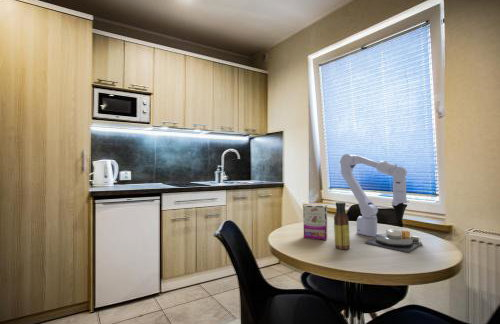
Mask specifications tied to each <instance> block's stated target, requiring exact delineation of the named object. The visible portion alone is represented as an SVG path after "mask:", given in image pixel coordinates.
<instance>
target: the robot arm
mask: <svg viewBox="0 0 500 324" xmlns="http://www.w3.org/2000/svg"><path fill="white" fill-rule="evenodd" d="M339 164H340V174H341V176H342V178H343V179H344V180H345V182H346V184H347V186H348V187H349V190H350V191H351V192H352V194H353V196H354V197H355V199H356V201H357V203H358V208H359V210H360V214H361V215H359V216H358V217H357V219H356V232H355V233H356V234H357V235H361V236H368V237H372V238H376V235H377V234H381V233H380V232H378V216H377V214H378V212H379V208H378V206H377V205H376V204H374V203H373V202H372V200H371V199H370V198H369V197H368V196H367V194H366V192H365V191H364V190H363V188H362V187H361V185H360V183H359V182H358V180H357V179H356V177H355V175H354V174H353V170H354V168H355V167H356V165H359V164H362V165H365V166H368V167H372V168H375V169H376V170H377V172H378V173H382V174H385V175H387V176H391V177H392V201H391V206H392V208H393V210H394V213H395V216H396V219H397V220H402V219H403V218H404V214H405V211H406V209H407V207H408V204H407V203H409V202H410V200H408V199H407V181H406V180H407V175H408V172H407V169H406V168H405V167H403V166H398V164H396V163H395V164H393V163H390V162H388V161H387V160H380V161H379V162H378V161H375V160H372V159H369V158H367V157H364V156H361V155H355V154H348V153H345V154H343V155H342V156H341V158H340V159H339Z"/></svg>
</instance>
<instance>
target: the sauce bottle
mask: <svg viewBox="0 0 500 324" xmlns="http://www.w3.org/2000/svg"><path fill="white" fill-rule="evenodd" d="M335 207H336V212H335V214H334V216H333V226H334V227H333V229H334V230H333V231H334V244H335V245H334V246H335V248H336V249H338V250H349V249H350V247H351V239H350V224H349V223H350V222H349V216H348V215H347V212H346V202H344V201H336V202H335Z"/></svg>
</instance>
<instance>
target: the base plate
mask: <svg viewBox="0 0 500 324" xmlns="http://www.w3.org/2000/svg"><path fill="white" fill-rule="evenodd" d="M410 238H411V239H412V240H413V244H412V245H411V246H391V245H386V244H382V243H379V242H377V241H376V237H372V238H370V239H368V240H367V241H365V244H367V245H370V246H376V247H379V248H384V249H388V250H389V249H390V250H393V251H398V252H403V253H407V254H408V253H409V254H410V253H411V252H412V251H414V250H416V249H417V248H418V247H420V246H422V245H423V242H422V237H421V236H419V235H412V236H411V235H410Z"/></svg>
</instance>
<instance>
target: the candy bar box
mask: <svg viewBox="0 0 500 324" xmlns="http://www.w3.org/2000/svg"><path fill="white" fill-rule="evenodd" d="M302 208H303V209H302V210H303V239H308V238H310V239H309V240H318V241H327V239H328V205H327V204H326V205H325V204H304V205H303V206H302Z"/></svg>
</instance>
